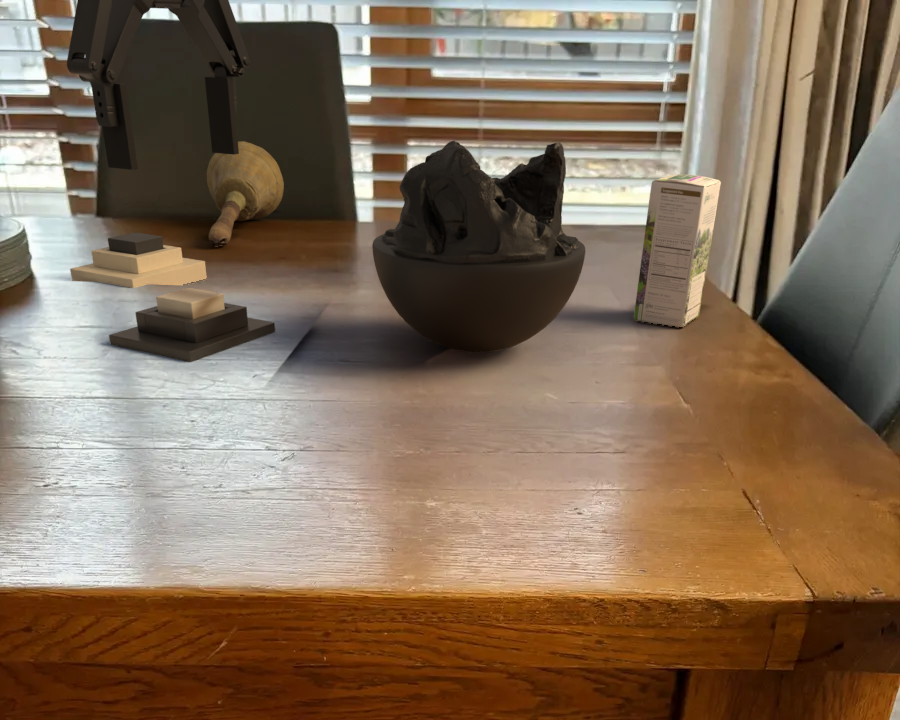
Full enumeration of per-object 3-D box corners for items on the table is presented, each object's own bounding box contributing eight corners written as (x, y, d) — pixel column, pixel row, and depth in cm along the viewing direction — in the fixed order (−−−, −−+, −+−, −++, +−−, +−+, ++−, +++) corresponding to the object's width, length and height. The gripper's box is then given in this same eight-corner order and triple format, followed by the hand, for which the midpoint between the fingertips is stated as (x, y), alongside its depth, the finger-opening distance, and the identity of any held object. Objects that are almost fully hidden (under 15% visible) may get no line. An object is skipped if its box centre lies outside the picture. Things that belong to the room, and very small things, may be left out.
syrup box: (650, 310, 111) (667, 172, 104) (701, 318, 108) (722, 177, 101) (632, 321, 107) (649, 178, 99) (684, 330, 104) (705, 183, 97)
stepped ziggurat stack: (134, 299, 111) (129, 263, 109) (73, 287, 115) (66, 252, 113) (207, 279, 120) (203, 245, 118) (147, 269, 124) (143, 236, 122)
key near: (193, 322, 90) (191, 303, 89) (158, 315, 92) (155, 296, 91) (225, 312, 93) (223, 293, 92) (190, 305, 95) (188, 287, 94)
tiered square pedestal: (192, 376, 88) (186, 331, 86) (112, 358, 92) (105, 315, 90) (276, 344, 97) (273, 303, 95) (200, 329, 101) (195, 289, 99)
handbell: (260, 232, 158) (232, 296, 139) (194, 186, 154) (156, 245, 135) (299, 172, 152) (274, 230, 133) (231, 121, 147) (196, 174, 128)
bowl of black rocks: (339, 363, 92) (330, 143, 82) (422, 313, 108) (422, 125, 98) (542, 392, 86) (558, 159, 76) (598, 335, 102) (617, 136, 92)
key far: (136, 258, 113) (134, 242, 112) (109, 253, 115) (107, 238, 114) (164, 251, 117) (162, 236, 116) (137, 247, 118) (135, 232, 118)
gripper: (56, -151, 68) (106, 179, 79) (276, -111, 87) (291, 150, 98) (-18, -145, 71) (40, 171, 82) (210, -108, 90) (232, 145, 101)
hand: (177, 160), depth 90 cm, fingers open, 13 cm apart
